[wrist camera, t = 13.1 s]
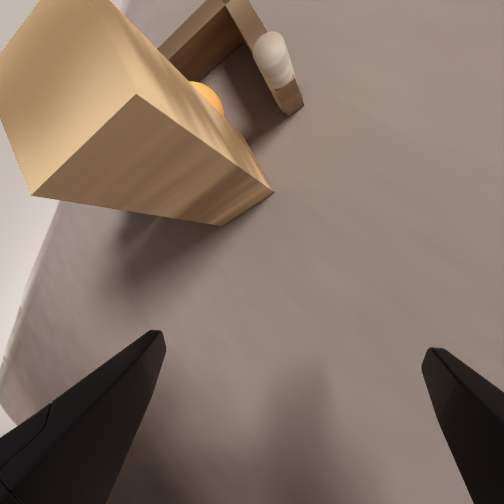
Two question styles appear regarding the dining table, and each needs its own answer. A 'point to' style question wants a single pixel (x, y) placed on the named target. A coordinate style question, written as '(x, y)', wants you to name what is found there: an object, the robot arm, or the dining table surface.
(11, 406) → the dining table surface
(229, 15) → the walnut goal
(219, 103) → the orange ball
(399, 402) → the dining table surface
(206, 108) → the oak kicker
